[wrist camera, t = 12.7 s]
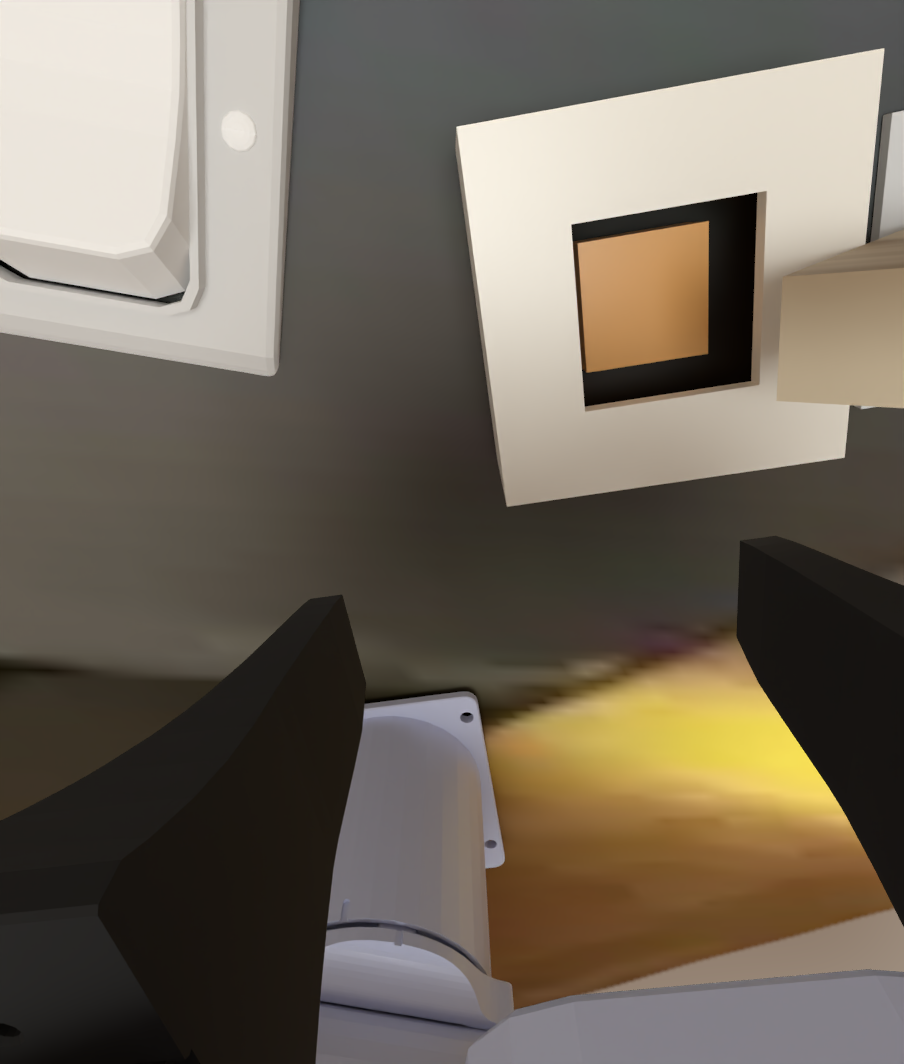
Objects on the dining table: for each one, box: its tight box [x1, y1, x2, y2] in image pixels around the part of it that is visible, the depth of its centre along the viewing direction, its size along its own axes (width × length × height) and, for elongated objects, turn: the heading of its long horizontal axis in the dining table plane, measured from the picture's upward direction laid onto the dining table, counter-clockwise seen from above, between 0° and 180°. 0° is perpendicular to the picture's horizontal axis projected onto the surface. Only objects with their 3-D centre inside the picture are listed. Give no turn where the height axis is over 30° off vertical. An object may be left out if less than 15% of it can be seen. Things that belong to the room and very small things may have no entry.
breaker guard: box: [455, 48, 884, 507], centre depth 18 cm, size 9×9×4 cm
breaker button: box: [573, 221, 709, 373], centre depth 18 cm, size 3×3×2 cm
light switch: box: [0, 0, 300, 376], centre depth 16 cm, size 11×4×13 cm
